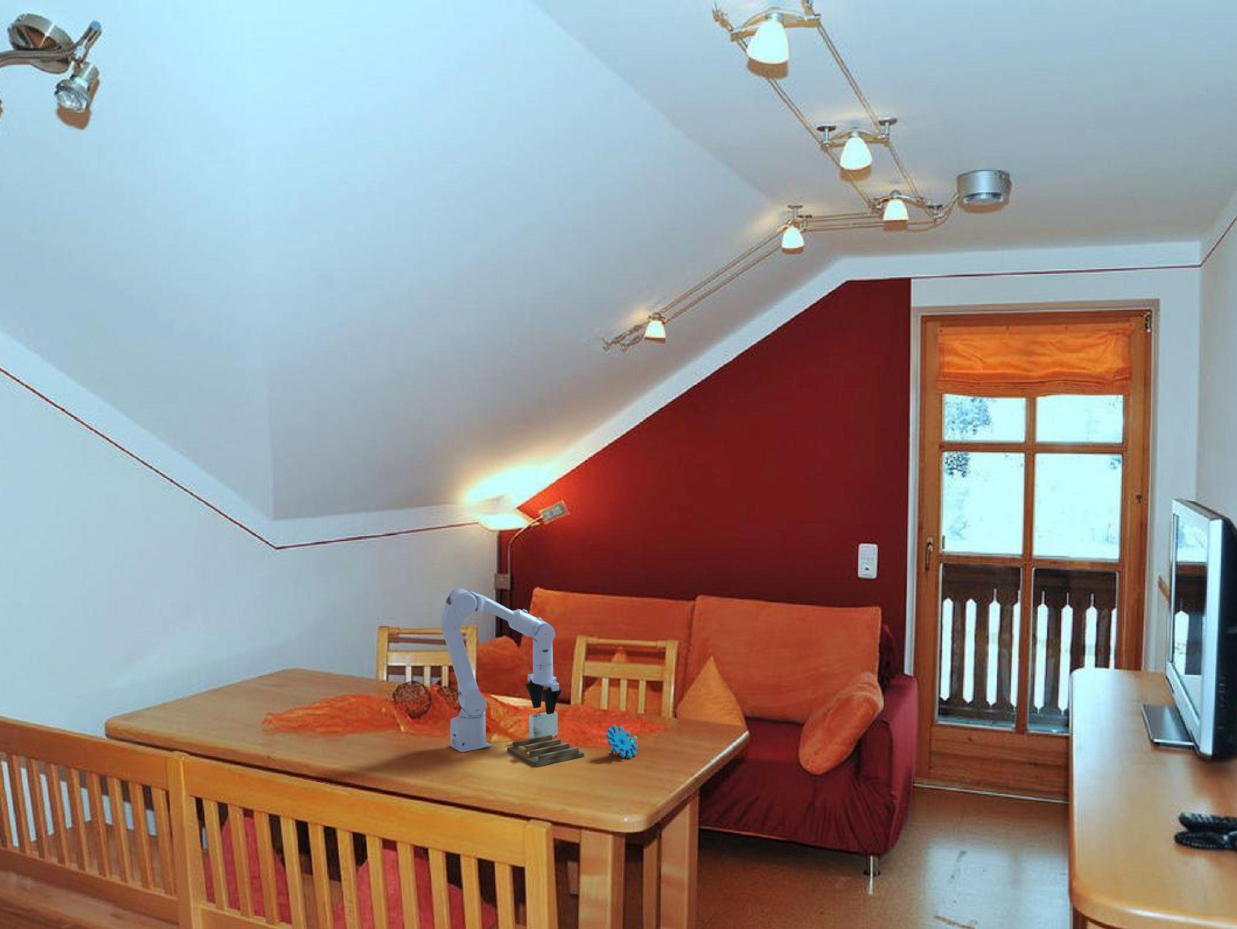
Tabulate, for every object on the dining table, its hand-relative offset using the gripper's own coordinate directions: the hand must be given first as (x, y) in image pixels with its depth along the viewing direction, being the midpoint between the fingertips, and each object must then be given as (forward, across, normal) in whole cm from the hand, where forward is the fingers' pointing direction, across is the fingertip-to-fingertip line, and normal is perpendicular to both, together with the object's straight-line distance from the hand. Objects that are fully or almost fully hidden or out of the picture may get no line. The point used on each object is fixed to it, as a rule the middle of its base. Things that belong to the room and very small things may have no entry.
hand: (543, 710), depth 297 cm
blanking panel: (+8, 0, 0) cm, 8 cm away
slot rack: (+8, -13, +7) cm, 17 cm away
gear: (+8, -26, -10) cm, 29 cm away
